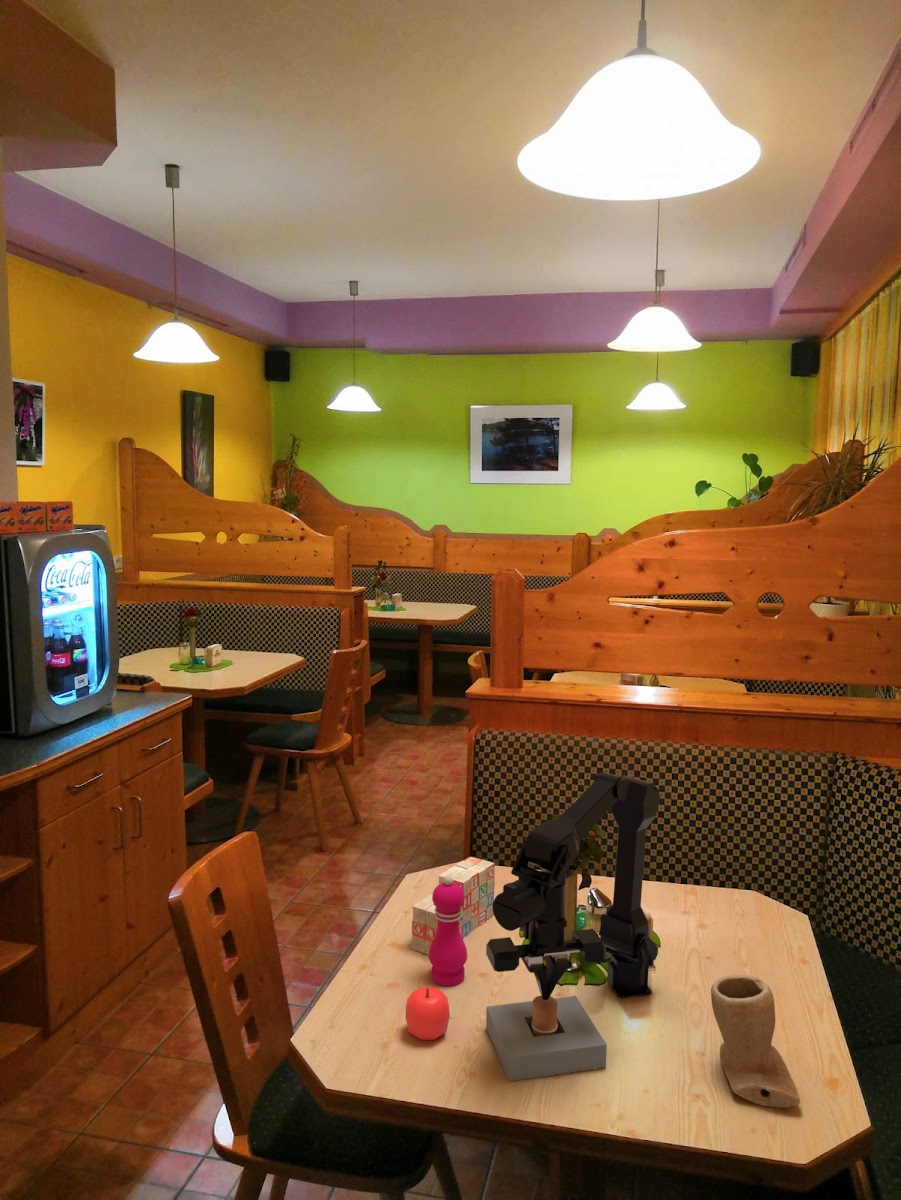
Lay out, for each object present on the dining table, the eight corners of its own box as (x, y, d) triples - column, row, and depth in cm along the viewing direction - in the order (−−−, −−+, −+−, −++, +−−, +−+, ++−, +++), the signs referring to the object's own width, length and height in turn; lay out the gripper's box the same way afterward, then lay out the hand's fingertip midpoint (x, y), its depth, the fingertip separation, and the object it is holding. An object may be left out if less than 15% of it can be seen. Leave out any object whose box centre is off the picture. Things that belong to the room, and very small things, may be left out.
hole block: (575, 1017, 157) (575, 995, 156) (605, 1067, 143) (606, 1044, 143) (486, 1028, 153) (486, 1006, 153) (509, 1081, 140) (509, 1057, 139)
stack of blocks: (437, 959, 176) (437, 899, 174) (411, 949, 179) (411, 891, 178) (494, 916, 193) (495, 861, 192) (470, 908, 197) (470, 855, 195)
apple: (441, 1051, 147) (441, 1005, 146) (396, 1041, 150) (396, 996, 149) (457, 1024, 155) (457, 980, 153) (414, 1014, 157) (414, 971, 156)
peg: (552, 1038, 151) (553, 993, 150) (560, 1054, 147) (561, 1008, 146) (528, 1041, 150) (529, 996, 149) (535, 1057, 146) (536, 1011, 145)
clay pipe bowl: (702, 1046, 149) (706, 961, 147) (776, 1051, 148) (781, 966, 146) (718, 1108, 134) (723, 1014, 132) (801, 1115, 133) (807, 1020, 131)
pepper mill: (463, 990, 165) (464, 886, 162) (424, 985, 166) (425, 882, 164) (470, 969, 172) (471, 869, 169) (433, 965, 173) (433, 866, 171)
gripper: (583, 881, 155) (581, 967, 157) (478, 891, 151) (477, 978, 153) (608, 911, 144) (605, 1002, 146) (496, 922, 140) (494, 1016, 142)
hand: (544, 998), depth 147 cm, fingers closed
